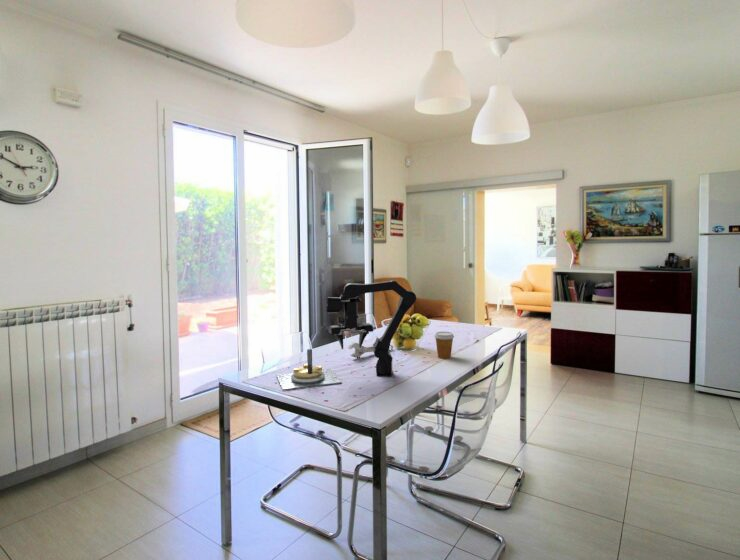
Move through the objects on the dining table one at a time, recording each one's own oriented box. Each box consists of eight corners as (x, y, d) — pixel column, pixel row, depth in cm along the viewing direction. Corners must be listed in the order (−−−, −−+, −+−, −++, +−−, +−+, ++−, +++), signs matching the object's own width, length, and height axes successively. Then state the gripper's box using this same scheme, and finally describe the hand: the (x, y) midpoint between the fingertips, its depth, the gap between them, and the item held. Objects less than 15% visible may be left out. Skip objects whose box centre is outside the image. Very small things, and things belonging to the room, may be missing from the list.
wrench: (392, 355, 231) (349, 359, 211) (390, 354, 232) (347, 358, 212) (393, 340, 231) (350, 343, 210) (391, 339, 232) (348, 342, 212)
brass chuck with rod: (325, 371, 187) (325, 343, 185) (317, 379, 175) (316, 350, 174) (299, 369, 189) (298, 343, 188) (289, 378, 177) (288, 349, 176)
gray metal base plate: (330, 370, 195) (329, 365, 195) (341, 383, 176) (341, 378, 176) (276, 376, 187) (276, 371, 187) (282, 390, 169) (282, 385, 168)
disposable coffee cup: (448, 353, 220) (448, 330, 219) (457, 358, 211) (457, 334, 210) (431, 355, 218) (431, 332, 217) (439, 360, 209) (439, 336, 208)
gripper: (365, 308, 195) (365, 342, 196) (325, 311, 189) (325, 345, 190) (373, 312, 185) (373, 348, 186) (331, 315, 178) (331, 351, 180)
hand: (351, 348), depth 186 cm, fingers open, 8 cm apart
